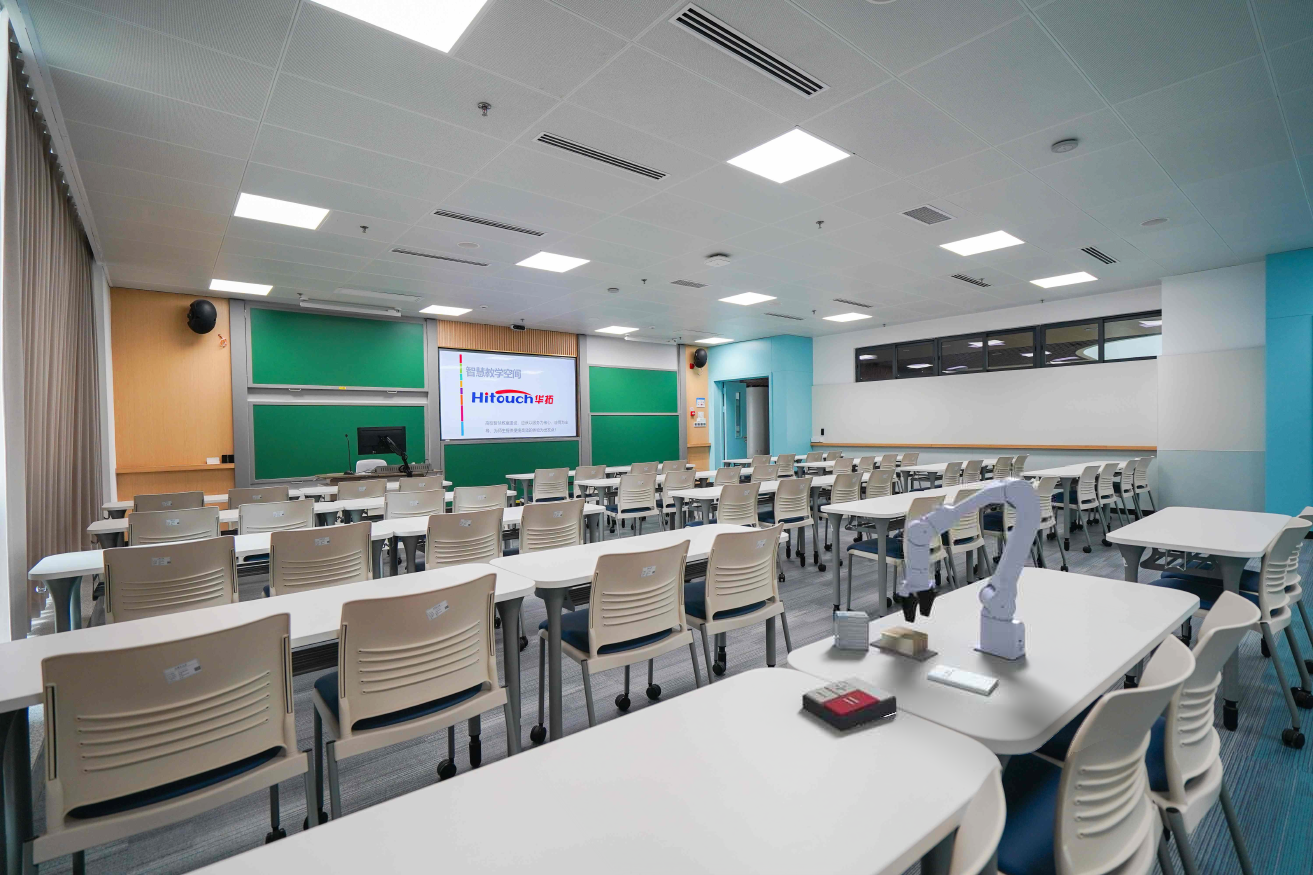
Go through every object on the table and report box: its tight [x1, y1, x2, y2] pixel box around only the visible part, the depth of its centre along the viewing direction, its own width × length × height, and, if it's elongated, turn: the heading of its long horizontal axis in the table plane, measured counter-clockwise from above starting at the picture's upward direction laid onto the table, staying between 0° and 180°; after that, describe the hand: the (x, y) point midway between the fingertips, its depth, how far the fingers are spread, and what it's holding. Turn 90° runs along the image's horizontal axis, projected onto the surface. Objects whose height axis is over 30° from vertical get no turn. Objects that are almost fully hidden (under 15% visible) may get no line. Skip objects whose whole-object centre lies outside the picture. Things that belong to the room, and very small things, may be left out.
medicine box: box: [834, 610, 870, 651], centre depth 153 cm, size 8×4×9 cm, turn 84°
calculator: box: [801, 676, 898, 732], centre depth 119 cm, size 11×4×15 cm
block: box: [881, 625, 929, 655], centre depth 152 cm, size 8×4×8 cm
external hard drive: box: [926, 664, 999, 696], centre depth 133 cm, size 2×8×12 cm
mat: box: [869, 637, 939, 662], centre depth 152 cm, size 14×8×1 cm, turn 38°
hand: (917, 618), depth 156 cm, fingers open, 7 cm apart
